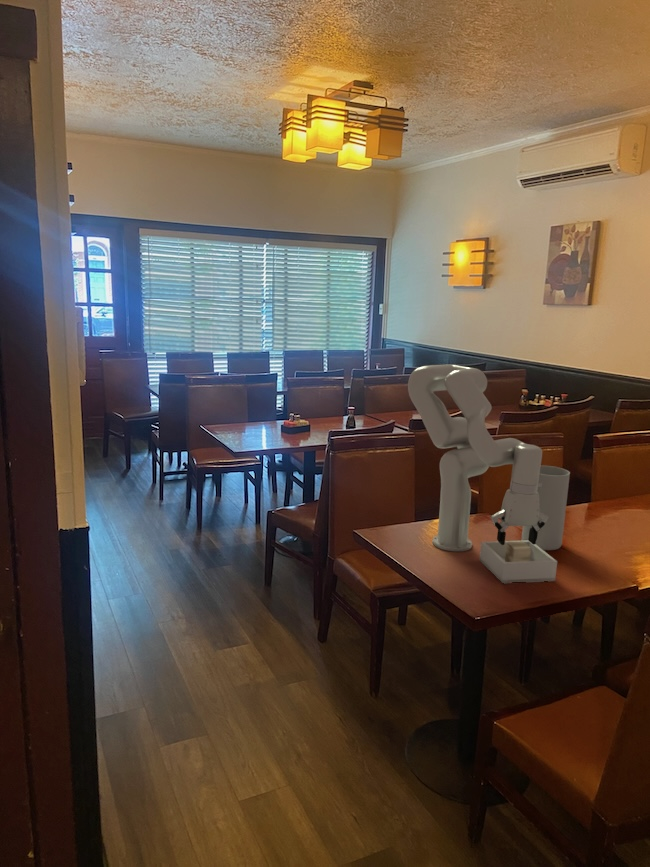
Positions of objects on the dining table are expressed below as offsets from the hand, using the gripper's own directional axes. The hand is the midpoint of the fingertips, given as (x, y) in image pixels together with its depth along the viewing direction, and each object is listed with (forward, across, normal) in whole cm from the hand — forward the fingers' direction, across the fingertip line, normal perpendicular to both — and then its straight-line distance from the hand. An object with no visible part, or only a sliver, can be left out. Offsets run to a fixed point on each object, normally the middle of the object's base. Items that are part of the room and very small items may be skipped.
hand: (516, 542), depth 184 cm
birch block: (+7, 0, +1) cm, 7 cm away
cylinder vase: (+9, -18, -18) cm, 27 cm away
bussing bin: (+8, 0, +1) cm, 8 cm away
